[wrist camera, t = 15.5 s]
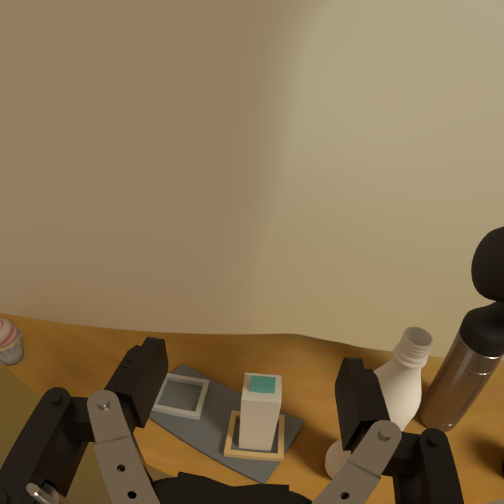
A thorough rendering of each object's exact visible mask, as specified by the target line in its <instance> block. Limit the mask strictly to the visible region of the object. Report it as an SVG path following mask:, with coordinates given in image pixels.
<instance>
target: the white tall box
mask: <svg viewBox="0 0 504 504" xmlns="http://www.w3.org/2000/svg"><path fill="white" fill-rule="evenodd" d="M281 400H282V375H268V374H256V373H246V372H245V378H244V385H243V392H242V398H241V415H240V434H239V448H244V449H255V450H269V451H271V447H272V443H273V438H274V434H275V430H276V425H277V421H278V416H279V412H280V407H281Z"/></svg>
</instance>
